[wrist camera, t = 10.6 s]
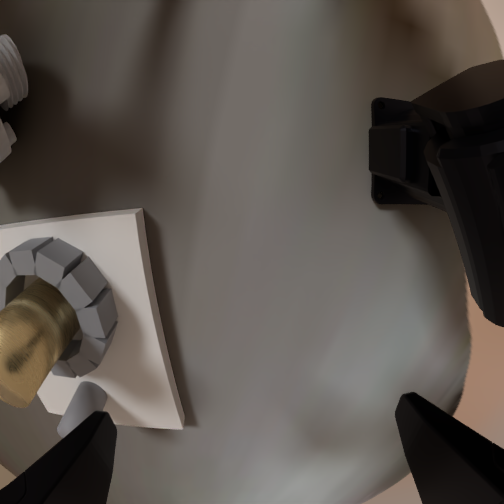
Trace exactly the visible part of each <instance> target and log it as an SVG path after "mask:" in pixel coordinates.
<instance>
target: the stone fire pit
mask: <svg viewBox="0 0 504 504" xmlns="http://www.w3.org/2000/svg"><path fill="white" fill-rule="evenodd" d="M39 277H40V278H42V279H43V280H45V281H47V282H48V283H50V284H52V285H53V286H55V287H57V288H58V289H59V291H60V292H61V293H62V294H63V296H64V297H65V298H66V300H67V301H68V302H69V303H70V305H71V306H72V307H73V308H74V309H75V311H76V314H77V317H78V320H79V324H80V327H81V328H80V329H79V330H78V332H77V333H76V335H75V336H74V337H73V339H72V340H71V342H70V343H69V345H68V346H67V347H66V349H65V350H64V352H63V353H62V355H61V356H60V358H59V359H58V361H57V362H56V364H55V365H54V367H53V368H52V370H51V371H50V373H49V374H48V376H47V377H46V379H45V380H44V382H43V383H42V385H41V387H40V388H39V390H38V391H37V394H38V395H39V397H40V399H41V401H42V402H43V404H44V406H45V407H46V409H47V411H48V412H50V413H55V414H59V415H63V417H62V419H61V421H60V423H59V425H58V427H57V431H58V433H59V435H60V436H61V437H62V438H64V437H65V436H66V435H67V434H69V433H70V432H71V431H72V430H73V429H74V428H75V427H77V426H78V425H79V424H80V423H81V422H82V421H84V420H85V419H86V418H87V417H88V416H89V415H90V414H92V413H93V412H94V411H96V410H100V411H106V412H108V413H109V414H110V416H111V418H112V420H113V422H114V424H119V425H128V426H137V427H148V428H162V429H182V430H183V427H184V420H185V415H184V412H183V408H182V405H181V401H180V397H179V394H178V390H177V386H176V382H175V378H174V375H173V371H172V367H171V362H170V358H169V354H168V350H167V346H166V341H165V337H164V332H163V327H162V323H161V318H160V313H159V308H158V303H157V298H156V292H155V287H154V281H153V275H152V269H151V263H150V257H149V250H148V244H147V237H146V229H145V222H144V214H143V208H137V209H126V210H116V211H106V212H97V213H88V214H79V215H71V216H62V217H55V218H47V219H40V220H32V221H25V222H19V223H12V224H5V225H0V311H1V310H2V309H3V308H4V307H6V306H7V305H8V304H9V303H10V302H11V301H12V300H13V299H14V298H16V297H17V296H18V295H19V294H20V293H21V292H22V291H24V290H25V289H26V288H27V287H28V286H29V285H31V284H32V283H33V282H34V281H35V280H36V279H38V278H39Z"/></svg>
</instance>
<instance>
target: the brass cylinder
mask: <svg viewBox="0 0 504 504" xmlns="http://www.w3.org/2000/svg"><path fill="white" fill-rule="evenodd" d="M80 328H81V327H80V324H79V320H78V317H77V314H76V311H75V309H74V308H73V307H72V306H71V305H70V303H69V302H68V301H67V300H66V298H65V297H64V296H63V294H62V293H61V292H60V291H59V289H58V288H57V287H55V286H53V285H52V284H50V283H48V282H47V281H45V280H43V279H42V278H40V277H39V278H38V279H36V280H35V281H34V282H33V283H32V284H31V285H29V286H28V287H27V288H26V289H25V290H24V291H22V292H21V293H20V294H19V295H18V296H17V297H16V298H14V299H13V300H12V301H11V302H10V303H9V304H8V305H7V306H6V307H4V308H3V309H2V310H1V311H0V399H1V400H2V401H4V402H6V403H7V404H9V405H12V406H14V407H18V408H25V407H27V406H29V404H30V403H31V401H32V399H33V398H34V396H35V395H36V393H37V391H38V390H39V388H40V387H41V385H42V383H43V382H44V380H45V379H46V377H47V376H48V374H49V373H50V371H51V370H52V368H53V367H54V365H55V364H56V362H57V361H58V359H59V358H60V356H61V355H62V353H63V352H64V350H65V349H66V347H67V346H68V345H69V343H70V342H71V340H72V339H73V337H74V336H75V335H76V333H77V332H78V330H79V329H80Z"/></svg>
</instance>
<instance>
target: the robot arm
mask: <svg viewBox="0 0 504 504" xmlns="http://www.w3.org/2000/svg"><path fill="white" fill-rule="evenodd" d="M378 102H380V103H381V104H382V109H379V107H378ZM371 111H372V127H371V128H370V129H369V170H370V172H371V173H372V188H371V196H372V199H373V201H375V202H376V203H379V204H429V205H432V206H434V207H436V208H439V209H441V210H443V211H446V212H447V213H448V216H449V219H450V222H451V224H452V227H453V230H454V233H455V237H456V240H457V243H458V246H459V249H460V253H461V256H462V260H463V263H464V267H465V271H466V275H467V278H468V282H469V287H470V291H471V295H472V297H473V298H474V299H475V301H476V303H477V304H478V306H479V308H480V309H481V310H482V311H483V314H484V317H485V318H486V319H488V320H489V321H491V322H492V323H494V324H495V325H498V326H501V327H504V60H497V61H493V62H489V63H486V64H482V65H478V66H474V67H471V68H469V69H467V70H465V71H463V72H461V73H460V74H458V75H456V76H454V77H452V78H451V79H449V80H447V81H445V82H444V83H442V84H440V85H438V86H437V87H435V88H433V89H431V90H430V91H428V92H426V93H424V94H423V95H421V96H419V97H418V98H416V99H414V100H413V101H411V102H409V101H403V100H396V99H389V98H382V97H380V98H375V99H374V100H373V101H372V104H371ZM379 192H382V197H381V198H379V199H378V196H377V195H378V193H379ZM395 418H396V422H397V426H398V430H399V433H400V437H401V441H402V445H403V449H404V453H405V456H406V459H407V462H408V465H409V467H410V470H411V473H412V475H413V478H414V481H415V484H416V487H417V489H418V492H419V495H420V498H421V501H422V504H504V449H503V448H501V447H499V446H498V445H496V444H495V443H492V442H491V441H490V440H488V439H487V438H485V437H483V436H481V435H480V434H479V433H477V432H475V431H474V430H472V429H471V428H469V427H468V426H466V425H464V424H463V423H461V422H460V421H458V420H456V419H455V418H454V417H452V416H450V415H449V414H447V413H446V412H444V411H443V410H441V409H440V408H438V407H437V406H435V405H434V404H432V403H430V402H429V401H427V400H426V399H424V398H423V397H421V396H420V395H418V394H417V393H415V392H410V393H406V394H403V395H402V396H401V397H400V400H399V403H398V405H397V408H396V411H395ZM116 438H117V429H116V426H115V424H114V422H113V420H112V418H111V416H110V414H109V413H108V412H106V411H100V410H96V411H94V412H93V413H92V414H90V415H89V416H88V417H87V418H86V419H85V420H84V421H82V422H81V423H80V424H79V425H78V426H77V427H75V428H74V429H73V430H72V431H71V432H70V433H69V434H67V435H66V436H65V437H64V438H63V439H62V440H60V441H59V442H58V443H57V444H56V445H55V446H53V447H52V448H51V449H50V450H49V451H48V452H46V453H45V454H44V455H43V456H42V457H41V458H39V459H38V460H37V461H36V462H35V463H34V464H32V465H31V466H30V467H29V468H28V469H27V470H25V472H23V473H22V474H20V475H19V476H18V477H17V478H16V479H14V481H12V482H11V483H9V484H8V485H7V486H5V487H4V488H2V489H1V490H0V504H106V502H107V497H108V492H109V487H110V483H111V478H112V473H113V465H114V455H115V446H116Z"/></svg>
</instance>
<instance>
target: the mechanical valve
mask: <svg viewBox="0 0 504 504" xmlns="http://www.w3.org/2000/svg"><path fill="white" fill-rule="evenodd" d="M27 95H28V79H27V74H26V71H25V68H24V65H23V62H22V59H21V56H20V54H19V52H18V49H17V47H16V45H15V44H14V42H13V41H12V40H11V38H10V37H9V36H8V35H6V34H4V35H2V36H0V106H1V107H2V108H3V109H4V110H5V111H8V107H9V108H12V107H13V104H15V105H16V104H17V103H18V101H22V99H23V98H26V97H27ZM16 140H17V139H16V136H15V133H14V131H13V129H12V128H11V126H10V125H9V124H8V123H7V122H5V123H2V121H1V118H0V163H1V162H2V161H3V160H4V159H5V158H6V157H7V156H8V155H9V154H10V153H11V145H12V144H13V143H15V142H16Z"/></svg>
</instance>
